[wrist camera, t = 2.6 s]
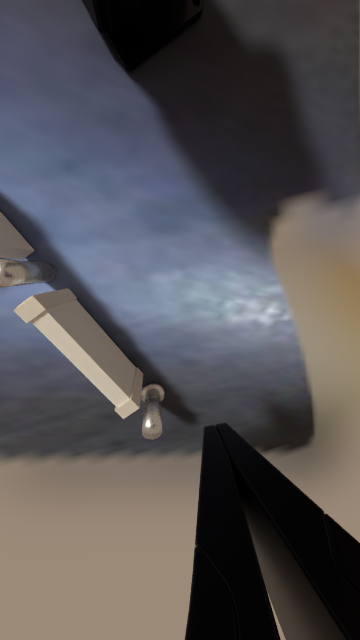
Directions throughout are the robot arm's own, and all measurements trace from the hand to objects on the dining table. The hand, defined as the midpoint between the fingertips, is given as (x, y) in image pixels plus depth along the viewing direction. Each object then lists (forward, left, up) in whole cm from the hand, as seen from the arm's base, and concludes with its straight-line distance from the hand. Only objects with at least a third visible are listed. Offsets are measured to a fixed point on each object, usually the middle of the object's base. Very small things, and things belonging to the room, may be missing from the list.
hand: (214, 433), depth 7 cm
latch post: (+6, +4, -12) cm, 14 cm away
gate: (+6, -4, -12) cm, 13 cm away
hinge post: (+6, -11, -12) cm, 17 cm away
